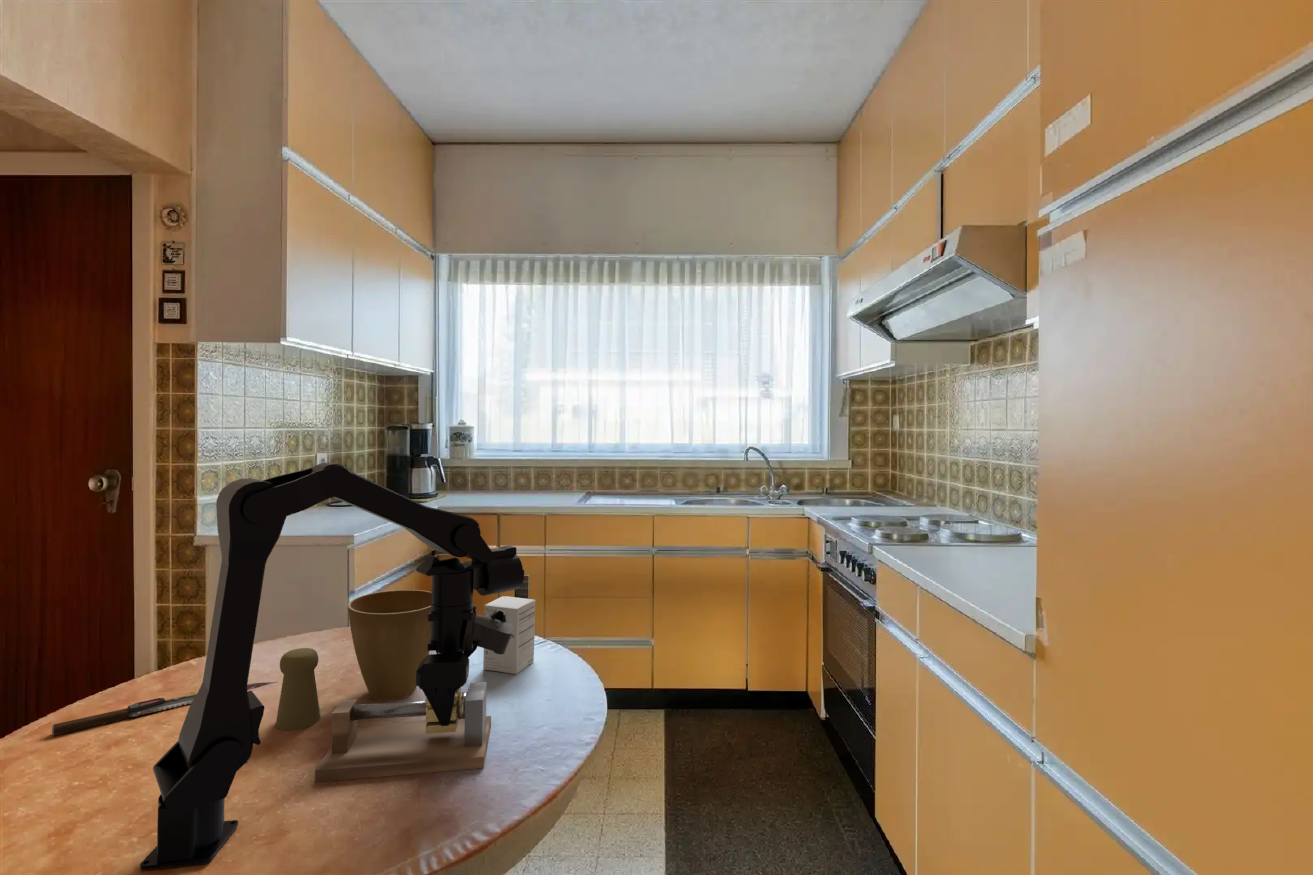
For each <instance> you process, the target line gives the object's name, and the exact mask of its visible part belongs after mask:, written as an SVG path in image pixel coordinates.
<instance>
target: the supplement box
mask: <svg viewBox="0 0 1313 875" xmlns="http://www.w3.org/2000/svg"><path fill="white" fill-rule="evenodd" d="M536 602H537V601H536V599H532V598H522V597H517V596H516V597H515V596H507V595H506V596H505V595H502V596H500V597H498V598H496V599H494V600H493V601H490V602H488V603H485V604H484V616H485V615H488V617H489V616H490V615H491V614H492V613H493V612H494V611H495V610H496V609H499V610H502V611H505V612H506V619H507V623H508V622H511V625H512V626H513V632H512V635H511V638H510V640H509V643H508V645H507V648H506V651H505V653H504V654H502V655H501V654H496V653H494V651H491V650H488V649H485V648H483V667H482V669H483V670H484V671H494V672H500V673H506V674H507V673H508V674H512V675H518V674H519V673H520V672H522V671H524V670H525V669H526V668H528V666H530V665H531V664H533V662H534V660H535V658H534V657H535V632H536V631H535V628H536V626H535V625H536V624H535V622H536V620H535V619H536ZM529 664H530V665H529Z"/></svg>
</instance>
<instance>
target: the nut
mask: <svg viewBox="0 0 1313 875" xmlns="http://www.w3.org/2000/svg"><path fill="white" fill-rule="evenodd" d="M461 690H462V687H460V688H459V689H458V690H457V691H456V695H455V700H454V704H456V703H457V700H458V698H459V694H460V692H461ZM425 701H426V706H427V708H426V716H425V720H426V722H427V724H426V733H425V734H432V733H446V732H456V729H457V725H458V722H459V720H458V714H457V704H456V705H453V710H452V715H451V720H450V724H449V725H448V726H441V725H440V723H439V721H438V719H437V717H436V715H435V713H434V711H433V709H432V707H431V705H430V703H429V701H428V699H427V697H426V696H425Z"/></svg>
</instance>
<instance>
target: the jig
mask: <svg viewBox="0 0 1313 875" xmlns="http://www.w3.org/2000/svg"><path fill="white" fill-rule="evenodd" d="M353 705H358V699H343V700H342V699H341V701H340V702H339V703H338V705H337V706H336V708H335V709H334V710H333V712H332V713H331V746H330V747H329V749H328V750H327V752H326V754H325V755H324V757H323V758H322V760H321V761H320V762H319V764H318V765H317V767H316V769H315V770H314V782H315V783H318V782H320V783H321V782H329V781H330V782H331V781H342V780H353V779H354V780H356V779H367V778H368V779H369V778H380V777H389V776H390V777H391V776H401V775H402V776H404V775H414V774H415V775H416V774H429V773H438V772H439V773H440V772H450V771H452V772H453V771H461V770H462V771H463V770H475V769H484V768H485V762H486V756H487V750H488V746H489V745H488V744H489V739H490V732H491V728H492V716H491V715H486V728H485V734H484V739H483V744H482V746H473V747H464V736H465V719H461V720H459V722H458V725H457V729H456V732H446V733H432V734H425V733H426V724H427V722H426V719H425V720H410V721H396V722H379V723H367V724H365V723H364V724H358V723H357V721H358V720H354V721H351V719H350V714H351V708H352V706H353Z"/></svg>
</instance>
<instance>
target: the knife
mask: <svg viewBox="0 0 1313 875" xmlns="http://www.w3.org/2000/svg"><path fill="white" fill-rule="evenodd" d="M277 683H278V681H272V682H271V681H270V682H254V683H247V691H251V690H255V689H257V688H258V689H259V688H261V687H265V685H266V686H268V685H272V684H277ZM250 689H251V690H250ZM197 693H198V692H197ZM197 693H192V694H188V695H187V694H186V695H183V696H180V697H176V698H175V697H174V698H170V699H165V698H164V697H158V698H153V699H148V700H143V701H139V702H135V703H132V704H129V705H128V706H127V707H126V708H122V709H118V710H113V711H109V712H105V713H104V712H103V713H100V714H95V715H90V716H86V717H85V716H84V717H82V718H81V717H80V718H77V719H72V720H67V721H64V722H59V723H53V724H52V726H51V735H52V736H56V735H57V736H58V735H62V734H66V733H70V732H74V731H79V730H83V729H88V728H93V727H96V726H97V727H98V726H100V725H105V724H106V725H107V724H110V723H114V722H118V721H122V720H127V719H129V718H135V717H139V716H143V715H146V714H151V713H157V712H160V711H163V710H164V711H165V710H169V709H173V708H177V707H182V706H185V705H191V704H192V702H193V700H194V698H195V696H196V694H197Z"/></svg>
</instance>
